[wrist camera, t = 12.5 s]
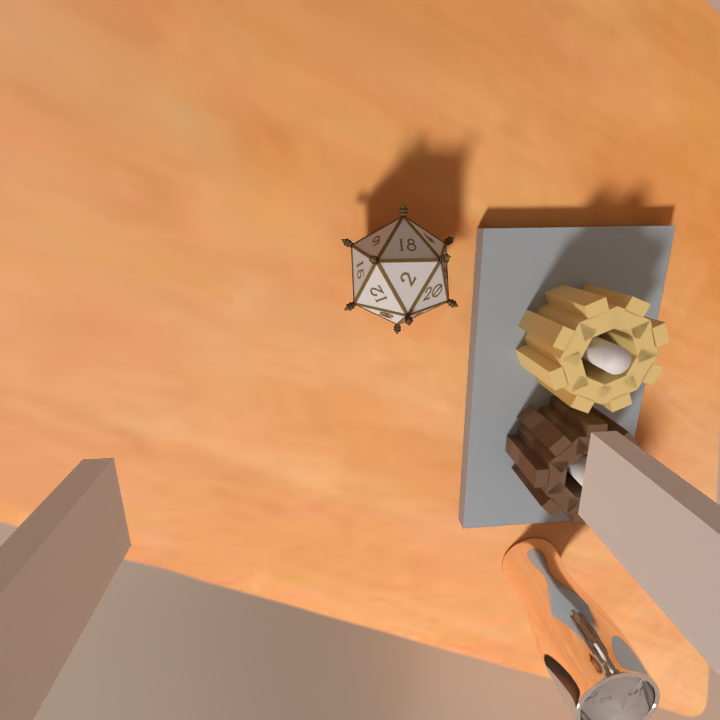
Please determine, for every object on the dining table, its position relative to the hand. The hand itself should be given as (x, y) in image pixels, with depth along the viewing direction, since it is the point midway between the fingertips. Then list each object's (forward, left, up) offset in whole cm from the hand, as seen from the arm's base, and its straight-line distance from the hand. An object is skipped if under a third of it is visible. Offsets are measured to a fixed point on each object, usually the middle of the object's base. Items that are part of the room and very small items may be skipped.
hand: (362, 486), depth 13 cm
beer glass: (+28, +20, -27) cm, 44 cm away
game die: (-3, +5, -27) cm, 28 cm away
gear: (+3, +20, -25) cm, 32 cm away
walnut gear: (+13, +20, -25) cm, 35 cm away
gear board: (+8, +20, -27) cm, 34 cm away
